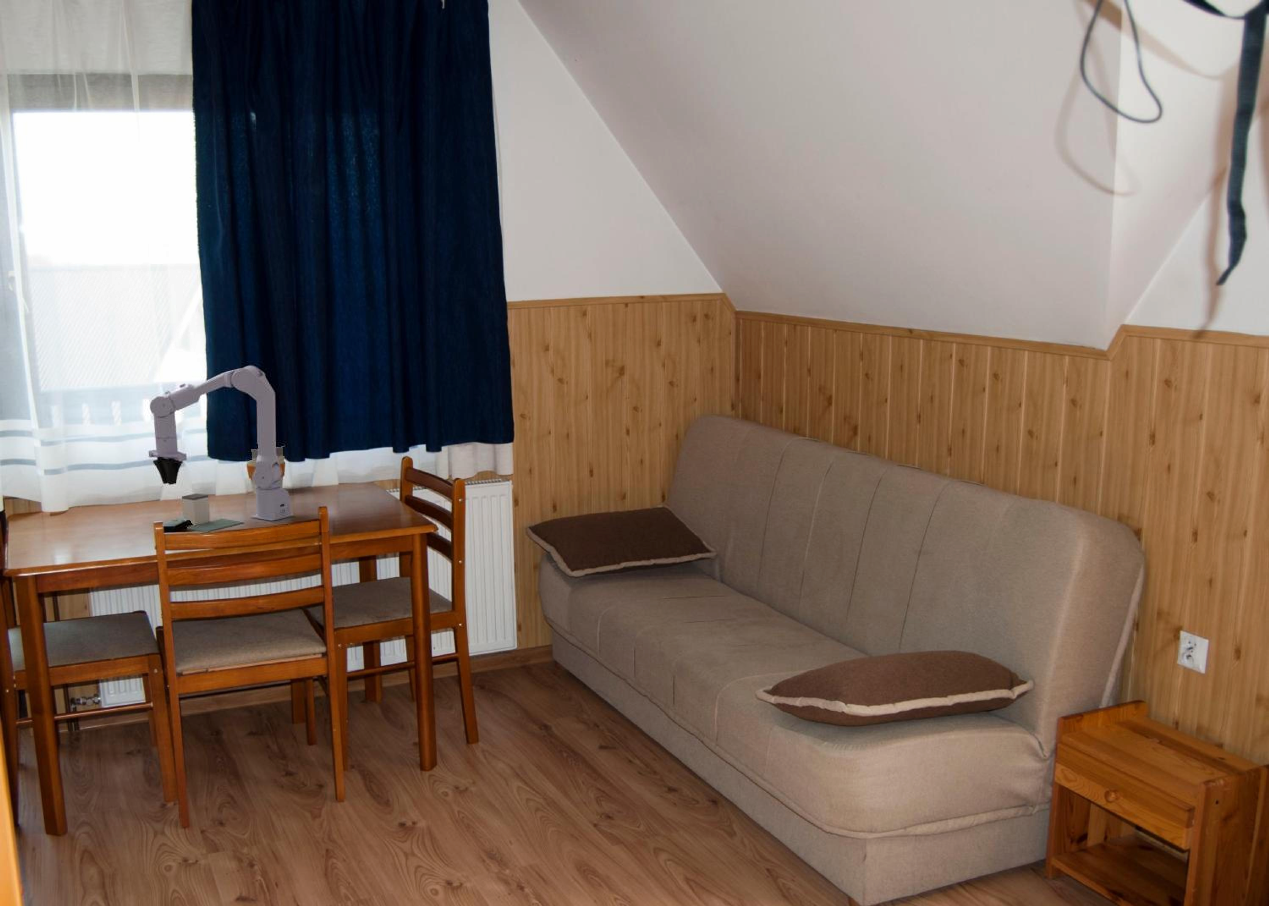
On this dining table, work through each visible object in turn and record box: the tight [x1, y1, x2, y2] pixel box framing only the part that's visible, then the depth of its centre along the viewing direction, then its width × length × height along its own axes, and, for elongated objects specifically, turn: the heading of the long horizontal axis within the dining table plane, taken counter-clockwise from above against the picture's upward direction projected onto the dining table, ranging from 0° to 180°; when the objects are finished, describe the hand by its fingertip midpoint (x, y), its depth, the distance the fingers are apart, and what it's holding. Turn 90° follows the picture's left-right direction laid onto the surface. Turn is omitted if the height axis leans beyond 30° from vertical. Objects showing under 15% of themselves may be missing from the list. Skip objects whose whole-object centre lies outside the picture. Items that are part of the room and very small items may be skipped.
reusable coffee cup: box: [246, 445, 286, 495], centre depth 374 cm, size 13×13×15 cm
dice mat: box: [186, 518, 245, 532], centre depth 327 cm, size 9×13×1 cm
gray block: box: [181, 492, 211, 526], centre depth 331 cm, size 5×5×8 cm
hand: (169, 483), depth 335 cm, fingers closed
